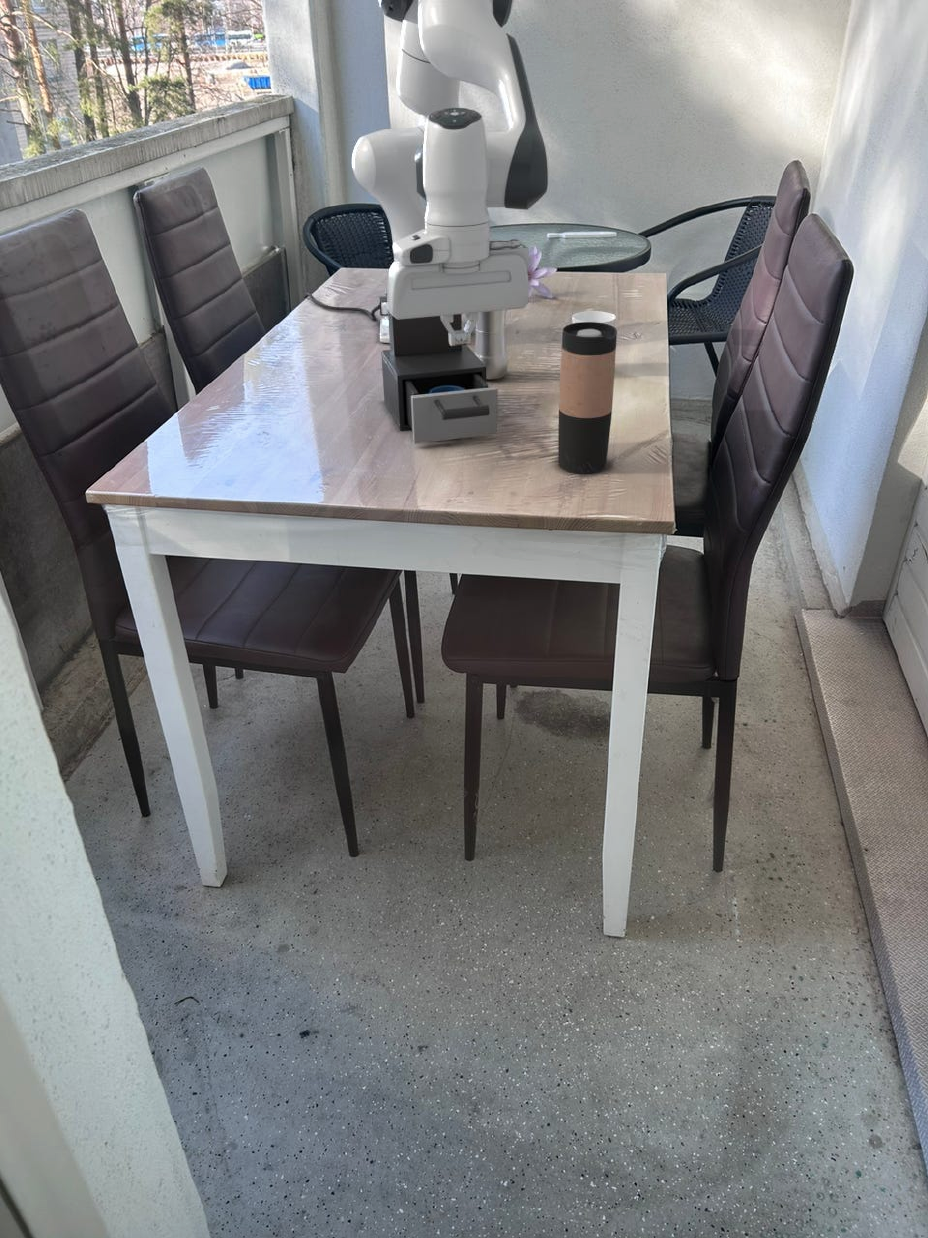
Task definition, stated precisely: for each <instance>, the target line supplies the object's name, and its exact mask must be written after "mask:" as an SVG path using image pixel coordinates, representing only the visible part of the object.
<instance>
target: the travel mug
mask: <svg viewBox="0 0 928 1238" xmlns="http://www.w3.org/2000/svg"><path fill="white" fill-rule="evenodd" d="M561 334H562V335H561V355H560V373H559V394H558V429H557V430H558V431H557V432H558V437H557V438H558V440H557V441H558V442H557V443H558V444H557V445H558V447H557V449H558V450H557V452H558V453H557V457H558V459H557V462H558V466H559V467H560V469H562V470H564V471H566V472H568V473H573V474H579V475H584V474H585V475H588V474H595V473H598V472H601V471H603V470H604V469H605V468H606V467H607V462H608V461H607V460H608V454H609V453H608V452H609V444H610V443H609V442H610V433H611V424H612V416H613V415H612V414H613V402H614V385H615V370H616V355H617V353H616V352H617V336H618V330H617V328H616V326H615V327H613V326H611V325H608V324H604V323H597V322H580V323H573V324H572V323H569V324H567V325H565V326H564V327H563V328H562V333H561Z"/></svg>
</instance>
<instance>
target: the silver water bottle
mask: <svg viewBox="0 0 928 1238" xmlns="http://www.w3.org/2000/svg"><path fill="white" fill-rule="evenodd" d="M506 317H507V310H500V311H489V312H478V322H477V323H476V325H475V343H474V351H473V353H474V354H475V355H476V356H477V357H478V358H479V359H480V360H481V361H482V362H483V364H484V365H485V366H486V380H496V379H500V378H503V377H504V376H505V375H506V373H507V372H508V368H509V367H508V366H509V360H508V359H509V358H508V353H507V345H506V344H507V343H506Z"/></svg>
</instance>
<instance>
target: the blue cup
mask: <svg viewBox="0 0 928 1238" xmlns="http://www.w3.org/2000/svg"><path fill="white" fill-rule="evenodd" d="M461 390H465V389H464V388H462V387H459V386H448V385H447V386H439V387H435V388H433V389H431V390H430V392H429V394H432V393H442V392H451V391H461Z"/></svg>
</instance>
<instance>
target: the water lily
mask: <svg viewBox="0 0 928 1238" xmlns="http://www.w3.org/2000/svg"><path fill="white" fill-rule="evenodd" d="M541 258H542V250H537V247H536V246H535V245H534V246H532V247H531V248H529V266H528V268H527V275H528V282H529V297H531V295H532V289H534V290H535V291H536V292H537V293H539V294H540V295H542V296H543V297H546V298H549V299H553V298H554V295H553V293H552V291H551V290H550V289H549V288H548V287H547V286H546V285H545V284H543V283H541V282H539V281H538V280H540V279H544V278H547V277H549V276H552V275H553V274H554V273H556V272H557V270H558V268H557V267H553V266H547V267H540V268H538V265H539V264H540V261H541Z"/></svg>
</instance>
